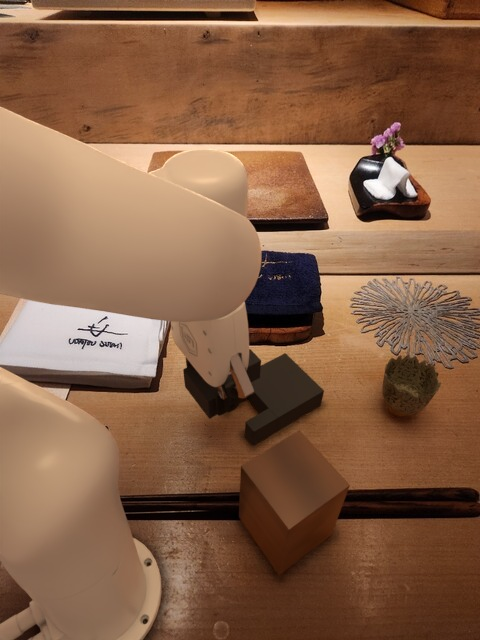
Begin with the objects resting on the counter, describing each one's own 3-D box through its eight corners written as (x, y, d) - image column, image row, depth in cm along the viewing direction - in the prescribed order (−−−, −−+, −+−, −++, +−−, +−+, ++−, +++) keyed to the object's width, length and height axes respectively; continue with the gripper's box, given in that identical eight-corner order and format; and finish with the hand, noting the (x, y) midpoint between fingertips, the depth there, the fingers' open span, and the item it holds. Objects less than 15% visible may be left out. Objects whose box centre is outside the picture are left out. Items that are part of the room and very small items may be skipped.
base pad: (252, 446, 63) (253, 431, 61) (217, 402, 69) (217, 387, 66) (320, 405, 69) (324, 390, 66) (283, 367, 74) (285, 352, 72)
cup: (426, 434, 65) (444, 400, 60) (373, 425, 66) (386, 390, 61) (421, 394, 71) (438, 358, 65) (373, 386, 72) (385, 350, 66)
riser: (278, 575, 51) (288, 529, 43) (238, 517, 56) (240, 465, 48) (331, 534, 55) (350, 485, 47) (289, 482, 60) (299, 429, 51)
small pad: (209, 419, 56) (208, 401, 54) (184, 386, 59) (183, 369, 57) (268, 386, 60) (269, 368, 57) (241, 358, 63) (242, 340, 61)
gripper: (136, 249, 50) (155, 361, 62) (223, 346, 39) (225, 456, 52) (196, 229, 53) (203, 338, 65) (291, 313, 42) (278, 424, 55)
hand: (212, 390), depth 58 cm, fingers closed on small pad, 6 cm apart
